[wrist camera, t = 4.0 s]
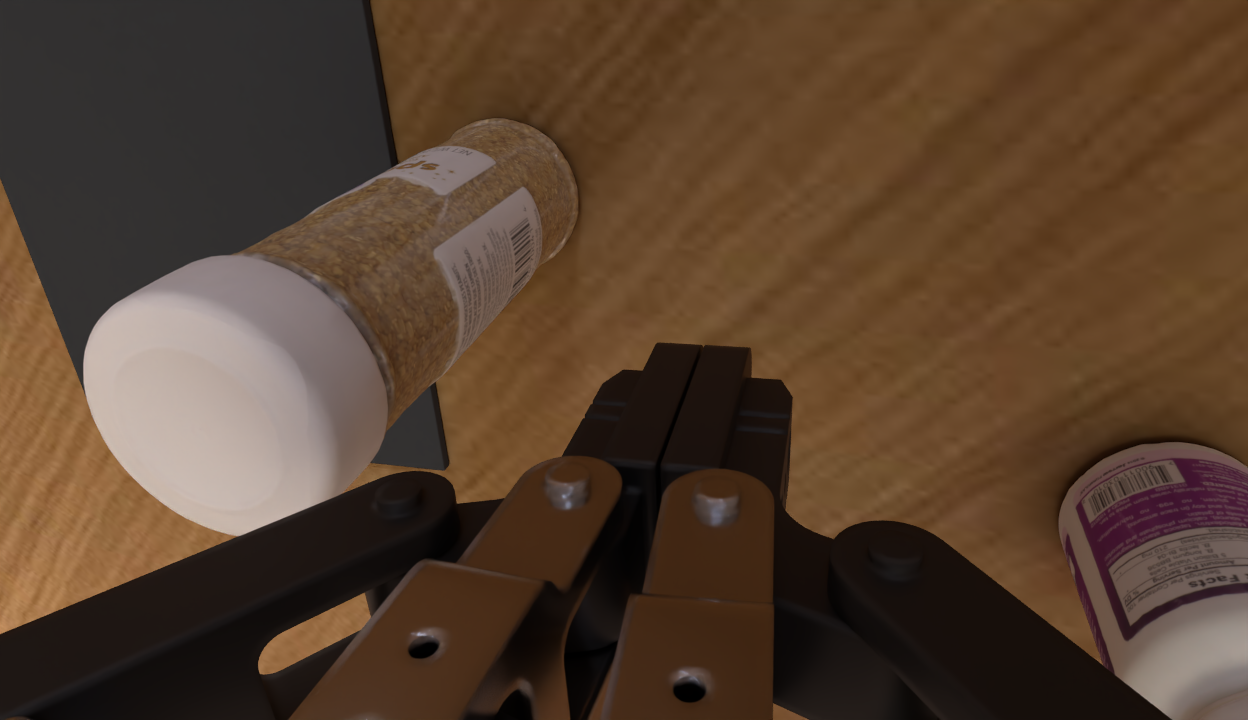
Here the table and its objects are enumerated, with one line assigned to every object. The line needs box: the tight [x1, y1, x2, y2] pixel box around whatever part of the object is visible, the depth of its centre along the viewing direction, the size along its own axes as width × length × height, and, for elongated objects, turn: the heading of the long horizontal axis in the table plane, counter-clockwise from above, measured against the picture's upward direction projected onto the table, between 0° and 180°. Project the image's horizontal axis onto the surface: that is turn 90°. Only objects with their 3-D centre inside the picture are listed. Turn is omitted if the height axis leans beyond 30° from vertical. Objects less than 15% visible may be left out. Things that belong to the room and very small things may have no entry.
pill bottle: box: [1059, 442, 1248, 720], centre depth 20 cm, size 5×5×10 cm
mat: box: [0, 0, 449, 471], centre depth 27 cm, size 20×15×1 cm
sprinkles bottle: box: [83, 118, 579, 536], centre depth 19 cm, size 5×5×13 cm
